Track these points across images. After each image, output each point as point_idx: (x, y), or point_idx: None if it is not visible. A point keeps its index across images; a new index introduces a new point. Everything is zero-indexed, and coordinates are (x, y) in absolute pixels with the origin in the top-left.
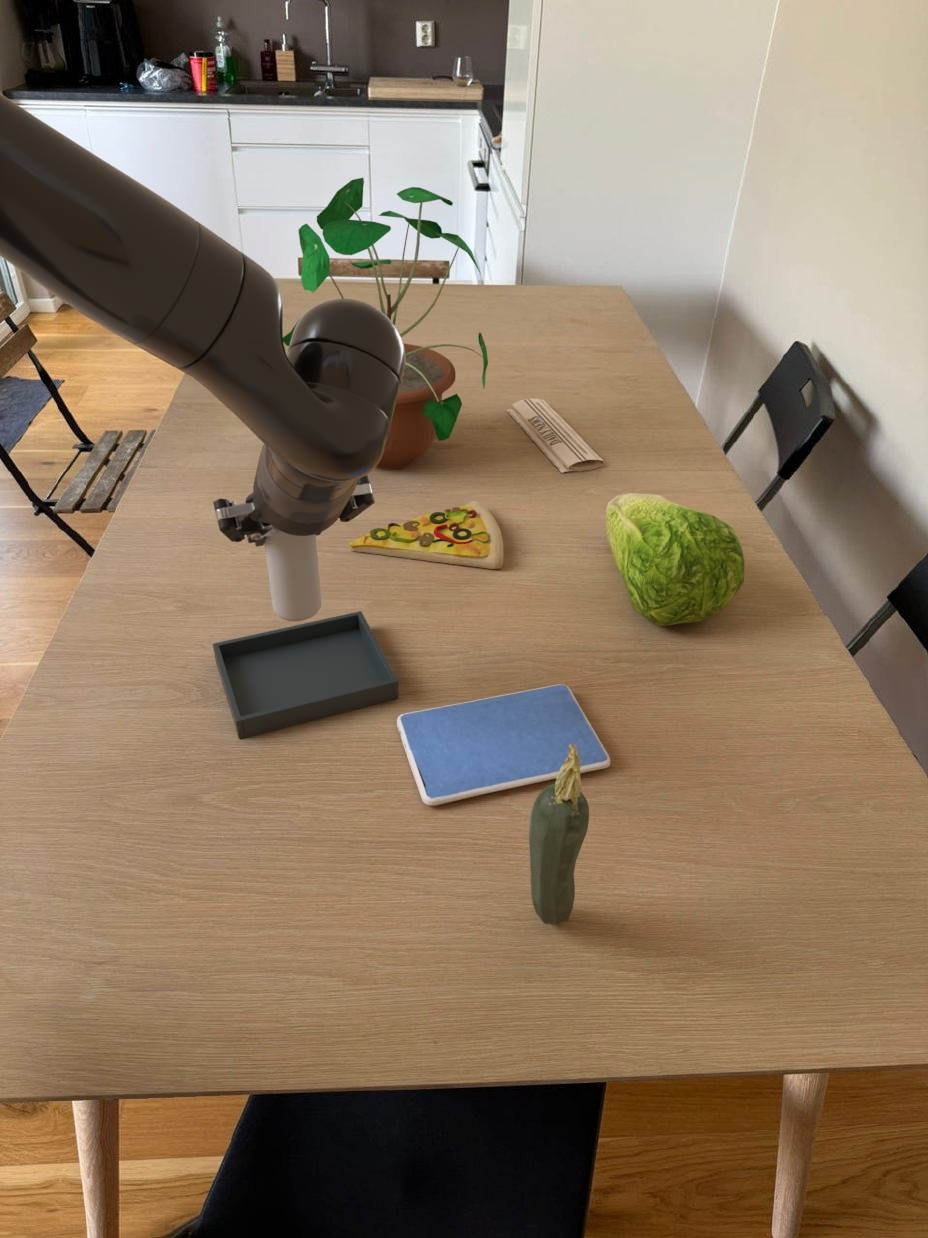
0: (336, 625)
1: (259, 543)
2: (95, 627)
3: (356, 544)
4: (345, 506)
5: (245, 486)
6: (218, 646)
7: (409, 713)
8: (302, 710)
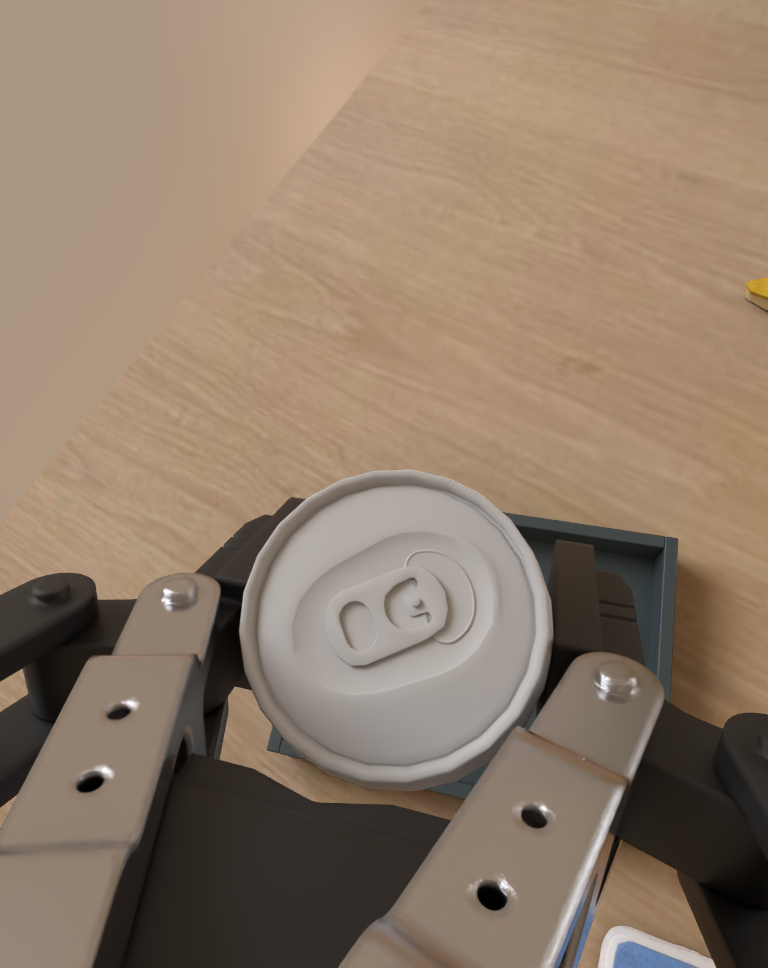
0: (603, 544)
1: None
2: (210, 325)
3: (764, 293)
4: (765, 875)
5: (606, 46)
6: None
7: (646, 947)
8: None
